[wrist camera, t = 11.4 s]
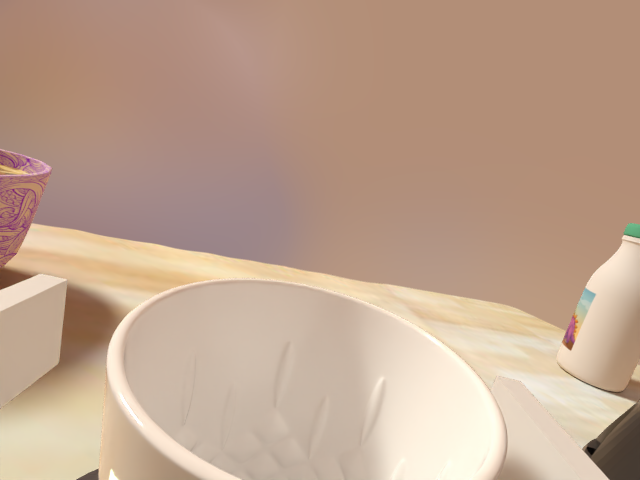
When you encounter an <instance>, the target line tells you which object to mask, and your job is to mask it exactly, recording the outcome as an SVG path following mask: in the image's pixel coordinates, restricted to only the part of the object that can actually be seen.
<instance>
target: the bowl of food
mask: <svg viewBox="0 0 640 480" xmlns="http://www.w3.org/2000/svg"><path fill="white" fill-rule="evenodd" d="M51 171H52V168H51V167H50V166H48V165H47V164H45V163H44V162H42V161H39V160H36V159H33V158H30V157H28V156H25V155H21V154H17V153H13V152H9V151H6V150H1V149H0V268H1V267H3V266H4V265H5V264H6V263H7V262H8V261H9V260H11V259H12V258H13V257H14V256H15V255H16V254H17V252H18V250H19V248H20V246H21V245H22V242H23V240H24V238H25V236H26V234H27V232H28V230H29V228H30V226H31V223H32V221H33V218H34V216H35V213H36V211H37V208H38V205H39V203H40V200H41V197H42V195H43V192H44V190H45V187H46V185H47V182H48V180H49V177H50V174H51Z"/></svg>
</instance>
